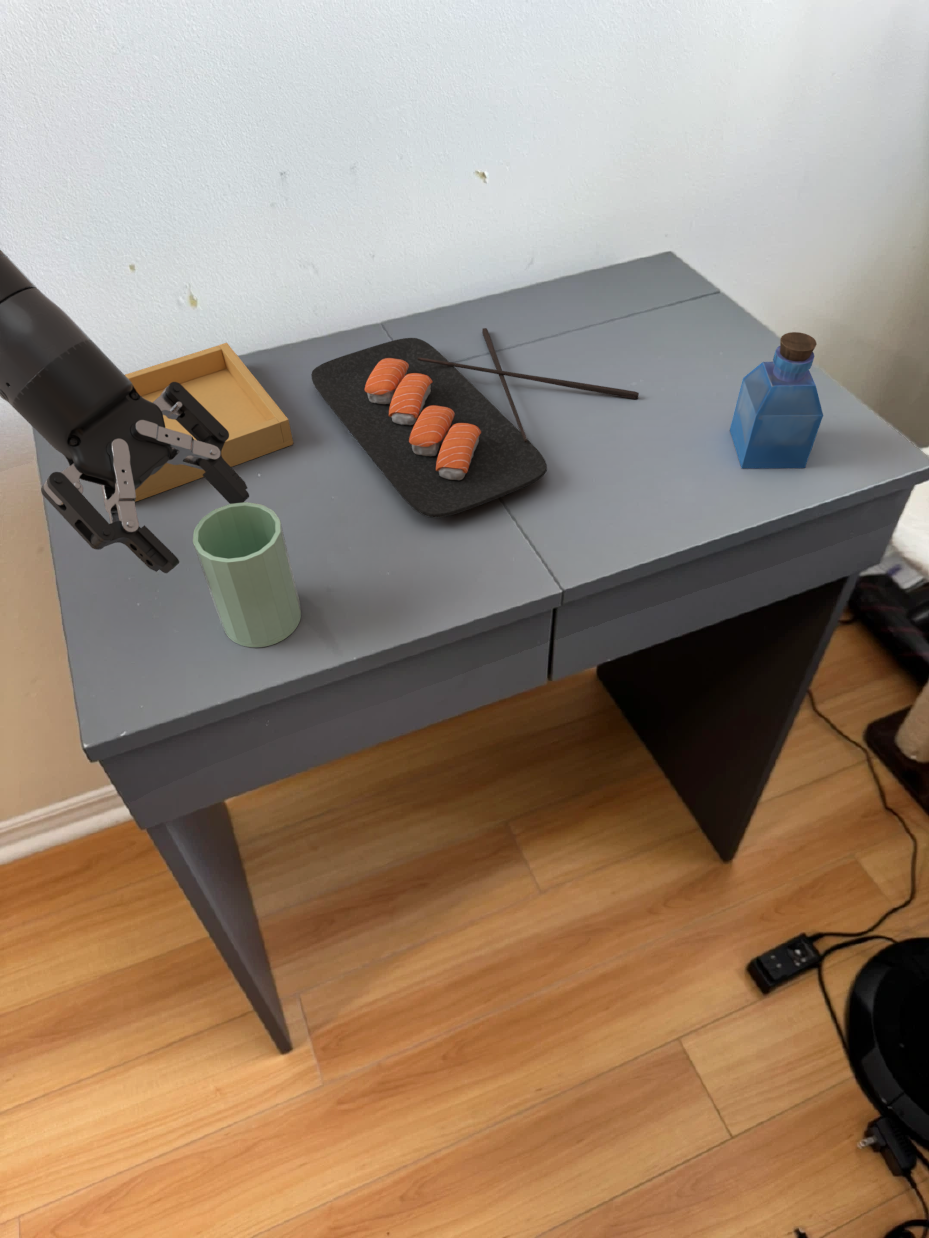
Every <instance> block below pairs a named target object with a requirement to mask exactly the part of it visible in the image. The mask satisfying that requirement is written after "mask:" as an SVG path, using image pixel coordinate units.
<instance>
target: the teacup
mask: <svg viewBox="0 0 929 1238" xmlns="http://www.w3.org/2000/svg"><path fill="white" fill-rule="evenodd" d="M192 544H193V548H194V549H195V554H196V556H197V559H198V561H199V564H200V567H201V571H202V573H203V576H204V579H205V581H206V582H205V583H206V585H207V587H208V591H209V593H210V596H211V599H212V602H213V605H214V608H215V611H216V613H217V616H218V619H219V622H220V625H221V627H222V629H223V632H224V633H225V635H226V636H227V637H228V638H229V640H230V641H232V642H233V643H235V644H237V645H239V646H242V647H246V648H265V647H269V646H273V645H275V644H278V643H280V642H282V641H284V640H285V639H287V638H288V637H289V636H291V634H293V633H294V632H295V630H296V629H297V627H298V626H299V624H300V621H301V618H302V608H301V602H300V598H299V593H298V589H297V585H296V580H295V576H294V572H293V567H292V564H291V559H290V556H289V551H288V547H287V543H286V539H285V534H284V530H283V526H282V522H281V519H280V518H279V516H278V515H277V514H276V512H275V510H273V509H271V508H269V507H267V506H266V505H264V504H261V503H253V502H247V501H244V502H243V503H234V504H229V503H228V504H225V505H223V506H220V507H218V508H215V509H213V510H212V511H210V512H209V513H207V514H206V515H204V516H203V517H202V518H201V519H200V520H199V522H198V523H197V525H196V526H195V528H194V530H193V534H192Z"/></svg>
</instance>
